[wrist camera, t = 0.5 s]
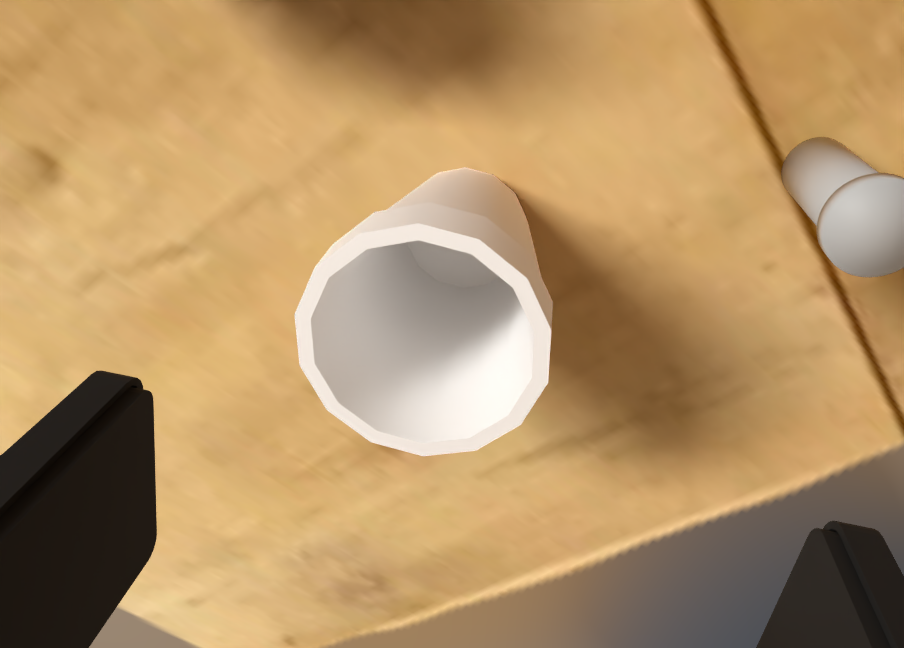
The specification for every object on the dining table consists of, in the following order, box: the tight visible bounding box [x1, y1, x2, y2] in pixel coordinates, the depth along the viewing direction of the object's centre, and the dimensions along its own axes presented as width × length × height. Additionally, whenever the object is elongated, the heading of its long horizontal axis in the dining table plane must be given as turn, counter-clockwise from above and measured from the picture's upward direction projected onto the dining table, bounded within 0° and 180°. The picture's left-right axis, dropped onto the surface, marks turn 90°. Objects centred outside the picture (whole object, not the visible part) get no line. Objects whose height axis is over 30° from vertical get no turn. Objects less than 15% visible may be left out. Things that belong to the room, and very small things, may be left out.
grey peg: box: [781, 137, 904, 277], centre depth 33 cm, size 4×4×8 cm
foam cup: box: [295, 167, 553, 456], centre depth 34 cm, size 10×9×13 cm
